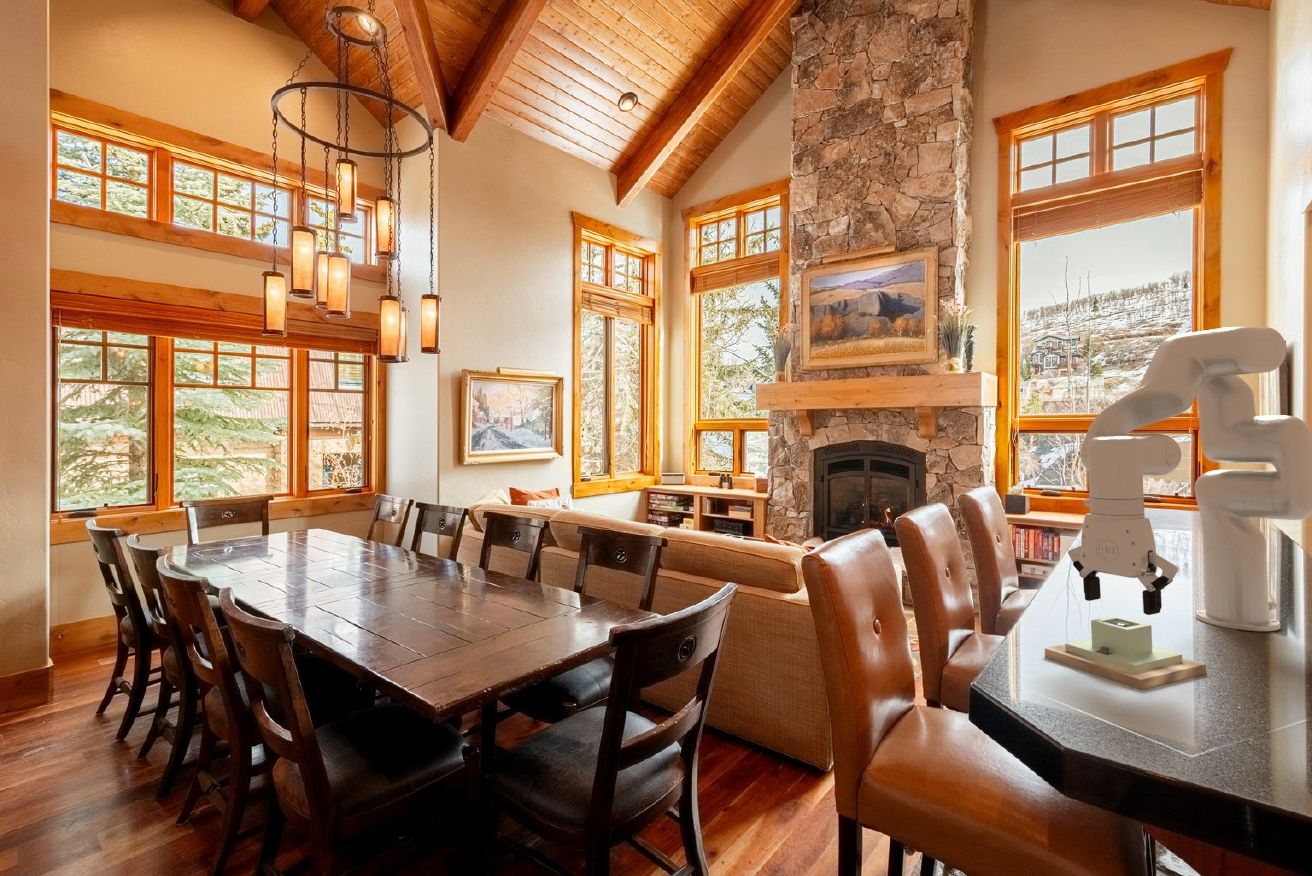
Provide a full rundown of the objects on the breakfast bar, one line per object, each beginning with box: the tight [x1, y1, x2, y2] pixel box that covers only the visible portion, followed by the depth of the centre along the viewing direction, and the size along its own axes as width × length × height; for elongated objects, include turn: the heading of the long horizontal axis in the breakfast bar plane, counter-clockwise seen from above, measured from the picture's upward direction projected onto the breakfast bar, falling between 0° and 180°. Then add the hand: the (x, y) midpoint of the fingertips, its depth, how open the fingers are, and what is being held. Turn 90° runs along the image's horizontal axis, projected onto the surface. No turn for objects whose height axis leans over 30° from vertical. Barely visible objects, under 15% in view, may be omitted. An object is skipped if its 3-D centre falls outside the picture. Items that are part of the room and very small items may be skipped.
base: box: [1044, 643, 1207, 690], centre depth 105 cm, size 16×16×2 cm
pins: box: [1100, 621, 1132, 655], centre depth 104 cm, size 6×3×6 cm, turn 110°
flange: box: [1064, 615, 1183, 673], centre depth 105 cm, size 12×12×6 cm
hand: (1121, 606), depth 105 cm, fingers open, 9 cm apart
